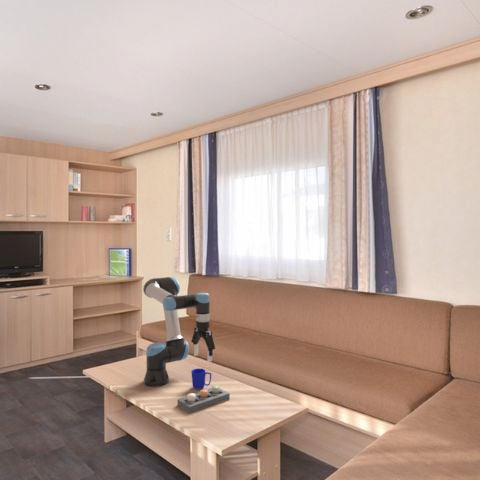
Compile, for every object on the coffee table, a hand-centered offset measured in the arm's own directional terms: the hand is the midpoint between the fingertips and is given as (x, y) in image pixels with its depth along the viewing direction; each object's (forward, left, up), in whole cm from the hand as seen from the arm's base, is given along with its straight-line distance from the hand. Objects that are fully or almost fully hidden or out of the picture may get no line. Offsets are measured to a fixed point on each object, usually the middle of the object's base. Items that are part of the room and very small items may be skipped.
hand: (202, 358), depth 220 cm
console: (+7, -4, -21) cm, 23 cm away
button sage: (+7, +4, -18) cm, 20 cm away
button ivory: (+7, -12, -18) cm, 23 cm away
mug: (-10, +6, -21) cm, 24 cm away
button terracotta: (+7, -4, -18) cm, 20 cm away
